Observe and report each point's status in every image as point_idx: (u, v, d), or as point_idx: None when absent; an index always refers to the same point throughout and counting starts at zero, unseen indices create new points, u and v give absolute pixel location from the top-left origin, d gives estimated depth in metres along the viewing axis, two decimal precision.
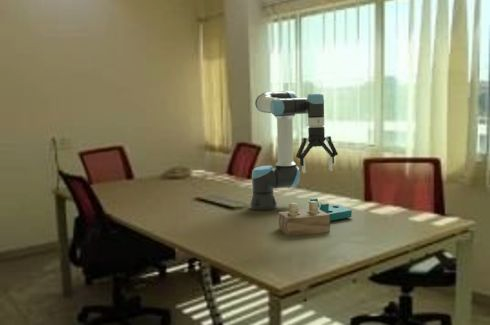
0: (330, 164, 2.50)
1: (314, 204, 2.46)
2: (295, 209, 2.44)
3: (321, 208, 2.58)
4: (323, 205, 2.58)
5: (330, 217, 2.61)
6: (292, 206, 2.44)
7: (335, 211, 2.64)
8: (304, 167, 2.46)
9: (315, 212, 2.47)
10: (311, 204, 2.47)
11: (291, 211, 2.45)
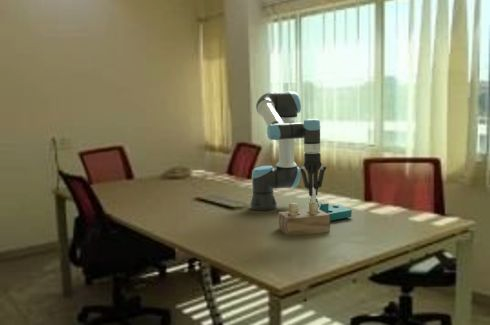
0: None
1: (314, 205, 2.46)
2: (295, 209, 2.44)
3: (321, 208, 2.58)
4: (323, 205, 2.58)
5: (330, 217, 2.61)
6: (292, 206, 2.44)
7: (335, 211, 2.64)
8: (313, 197, 2.46)
9: (315, 213, 2.47)
10: (311, 205, 2.47)
11: (291, 211, 2.45)
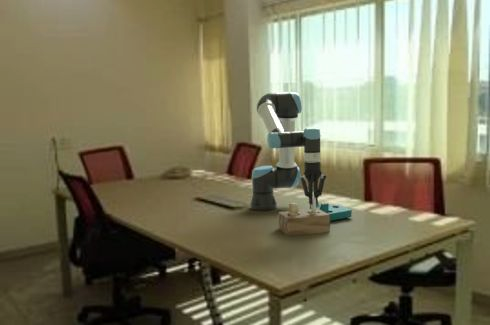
0: None
1: (314, 213, 2.47)
2: (295, 209, 2.44)
3: (321, 208, 2.58)
4: (323, 205, 2.58)
5: (330, 217, 2.61)
6: (292, 206, 2.44)
7: (335, 211, 2.64)
8: (313, 206, 2.47)
9: None
10: (311, 213, 2.47)
11: (291, 211, 2.45)
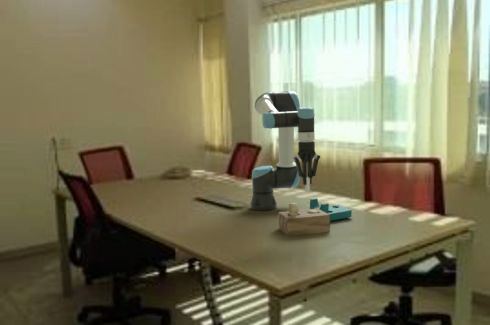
0: None
1: (314, 213, 2.47)
2: (295, 209, 2.44)
3: (321, 208, 2.58)
4: (323, 205, 2.58)
5: (330, 217, 2.61)
6: (292, 206, 2.44)
7: (335, 211, 2.64)
8: (307, 186, 2.45)
9: None
10: (311, 213, 2.47)
11: (291, 211, 2.45)
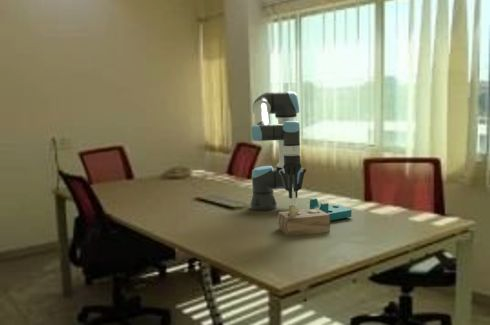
0: None
1: (314, 213, 2.47)
2: (295, 211, 2.44)
3: (321, 208, 2.58)
4: (323, 205, 2.58)
5: (330, 217, 2.61)
6: (292, 208, 2.44)
7: (335, 211, 2.64)
8: (293, 200, 2.44)
9: None
10: (311, 213, 2.47)
11: (291, 213, 2.45)
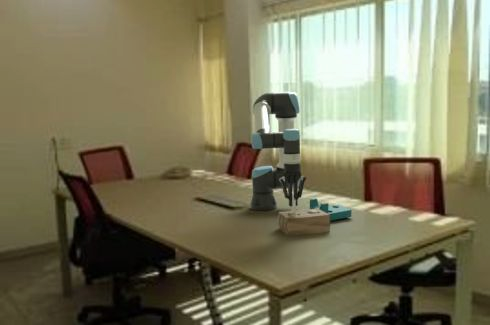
0: None
1: (314, 213, 2.47)
2: None
3: (321, 208, 2.58)
4: (323, 205, 2.58)
5: (330, 217, 2.61)
6: (292, 215, 2.45)
7: (335, 211, 2.64)
8: (293, 208, 2.44)
9: None
10: (311, 213, 2.47)
11: None
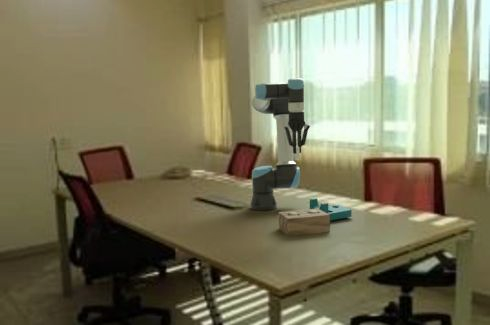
0: None
1: (314, 213, 2.47)
2: None
3: (321, 208, 2.58)
4: (323, 205, 2.58)
5: (330, 217, 2.61)
6: None
7: (335, 211, 2.64)
8: (297, 155, 2.55)
9: None
10: (311, 213, 2.47)
11: None
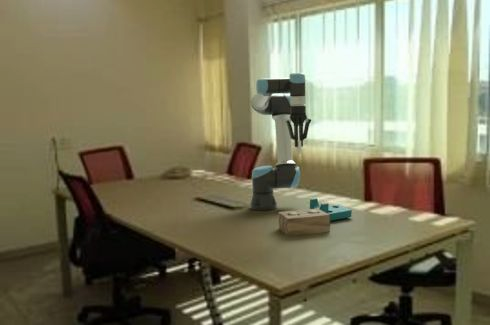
0: None
1: (314, 213, 2.47)
2: None
3: (321, 208, 2.58)
4: (323, 205, 2.58)
5: (330, 217, 2.61)
6: None
7: (335, 211, 2.64)
8: (298, 148, 2.58)
9: None
10: (311, 213, 2.47)
11: None
